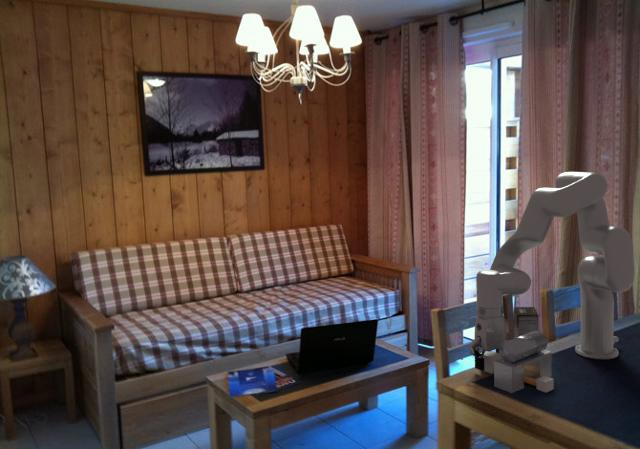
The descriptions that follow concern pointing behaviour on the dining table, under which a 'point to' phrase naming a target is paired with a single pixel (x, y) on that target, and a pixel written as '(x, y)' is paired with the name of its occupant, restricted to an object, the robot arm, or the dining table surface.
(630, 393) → the dining table surface
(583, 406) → the dining table surface
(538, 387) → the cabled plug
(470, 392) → the dining table surface
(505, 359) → the cylinder
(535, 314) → the coffee box
